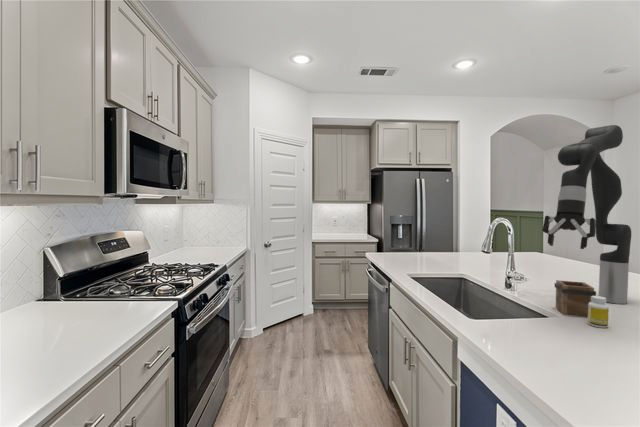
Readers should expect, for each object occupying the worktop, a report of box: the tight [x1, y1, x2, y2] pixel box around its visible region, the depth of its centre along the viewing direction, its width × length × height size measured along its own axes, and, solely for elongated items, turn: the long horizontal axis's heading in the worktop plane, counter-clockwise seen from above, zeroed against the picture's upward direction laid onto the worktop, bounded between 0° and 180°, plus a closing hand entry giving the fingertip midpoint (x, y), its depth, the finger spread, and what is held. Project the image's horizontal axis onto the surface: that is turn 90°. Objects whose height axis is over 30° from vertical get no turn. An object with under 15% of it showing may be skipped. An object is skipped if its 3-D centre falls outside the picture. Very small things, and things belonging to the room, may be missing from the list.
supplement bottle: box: [587, 295, 610, 329], centre depth 112 cm, size 5×5×10 cm
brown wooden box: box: [554, 280, 597, 318], centre depth 126 cm, size 10×10×11 cm
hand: (566, 247), depth 111 cm, fingers open, 8 cm apart
